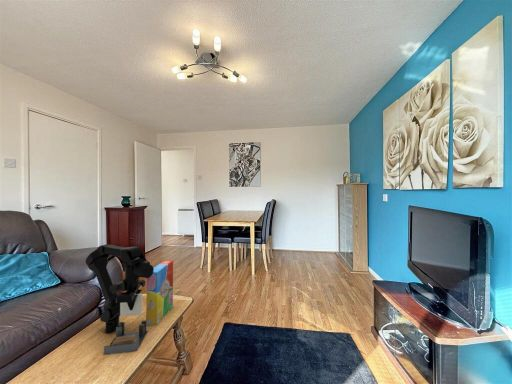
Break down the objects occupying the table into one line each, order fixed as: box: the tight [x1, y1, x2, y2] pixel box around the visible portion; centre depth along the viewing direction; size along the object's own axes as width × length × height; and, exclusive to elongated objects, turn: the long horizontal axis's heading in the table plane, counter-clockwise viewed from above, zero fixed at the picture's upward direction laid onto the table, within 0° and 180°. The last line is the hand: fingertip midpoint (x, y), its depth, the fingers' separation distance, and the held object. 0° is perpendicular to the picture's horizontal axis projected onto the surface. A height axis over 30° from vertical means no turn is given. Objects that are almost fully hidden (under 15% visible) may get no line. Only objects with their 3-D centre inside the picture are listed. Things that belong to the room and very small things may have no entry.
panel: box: [120, 293, 143, 317], centre depth 103 cm, size 1×9×9 cm, turn 99°
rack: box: [102, 319, 149, 356], centre depth 98 cm, size 14×13×6 cm
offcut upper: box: [113, 335, 135, 345], centre depth 95 cm, size 3×7×2 cm, turn 104°
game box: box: [145, 259, 174, 327], centre depth 121 cm, size 21×6×27 cm, turn 179°
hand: (131, 309), depth 103 cm, fingers closed on panel, 1 cm apart
